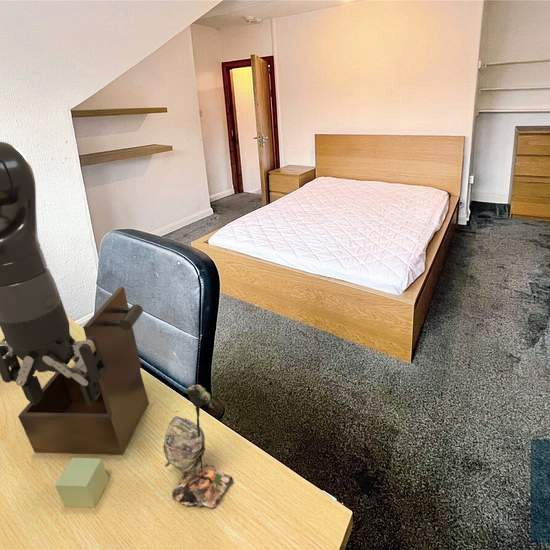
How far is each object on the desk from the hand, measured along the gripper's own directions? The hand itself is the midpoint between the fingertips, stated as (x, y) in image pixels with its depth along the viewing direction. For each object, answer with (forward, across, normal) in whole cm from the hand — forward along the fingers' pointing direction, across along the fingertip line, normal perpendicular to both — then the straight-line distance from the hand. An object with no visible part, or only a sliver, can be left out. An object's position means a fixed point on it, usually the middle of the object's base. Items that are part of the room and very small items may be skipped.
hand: (65, 400), depth 60 cm
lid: (0, -2, -12) cm, 12 cm away
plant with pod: (+18, -17, 0) cm, 25 cm away
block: (+18, +1, +2) cm, 18 cm away
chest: (+18, +6, -12) cm, 22 cm away
